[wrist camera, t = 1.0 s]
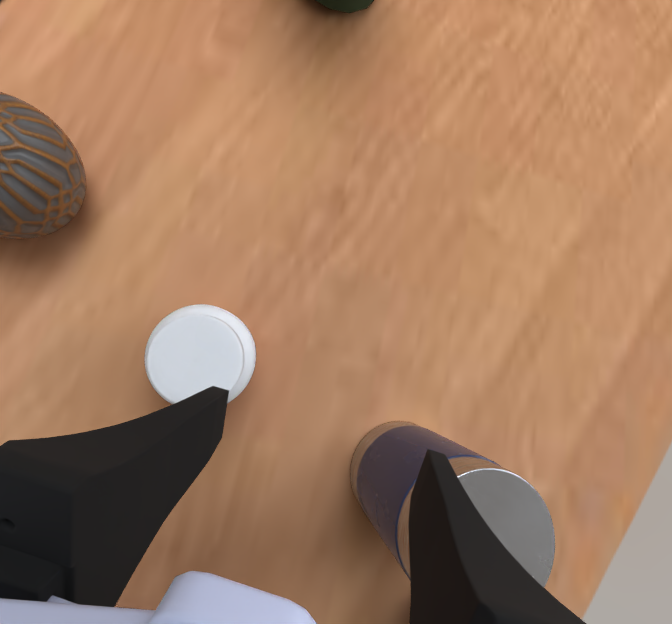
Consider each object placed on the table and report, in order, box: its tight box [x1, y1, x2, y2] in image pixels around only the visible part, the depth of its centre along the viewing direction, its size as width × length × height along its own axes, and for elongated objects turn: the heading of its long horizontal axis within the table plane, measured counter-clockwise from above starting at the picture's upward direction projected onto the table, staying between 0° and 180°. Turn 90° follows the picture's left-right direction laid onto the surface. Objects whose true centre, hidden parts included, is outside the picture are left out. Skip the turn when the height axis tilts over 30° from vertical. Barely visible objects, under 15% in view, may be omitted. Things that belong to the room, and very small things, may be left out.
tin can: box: [350, 421, 555, 587], centre depth 23 cm, size 7×7×11 cm
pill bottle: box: [145, 304, 256, 404], centre depth 23 cm, size 5×5×9 cm
